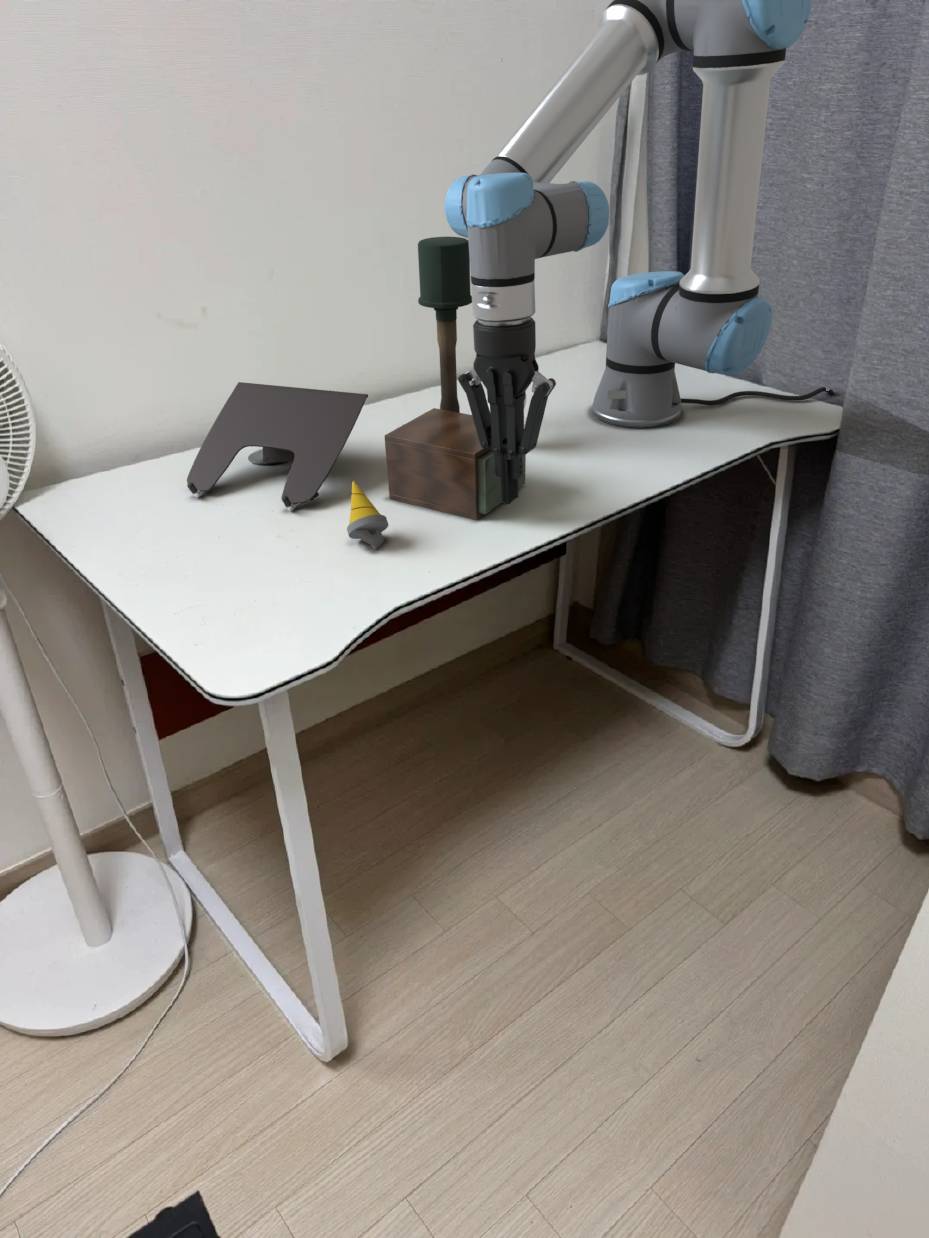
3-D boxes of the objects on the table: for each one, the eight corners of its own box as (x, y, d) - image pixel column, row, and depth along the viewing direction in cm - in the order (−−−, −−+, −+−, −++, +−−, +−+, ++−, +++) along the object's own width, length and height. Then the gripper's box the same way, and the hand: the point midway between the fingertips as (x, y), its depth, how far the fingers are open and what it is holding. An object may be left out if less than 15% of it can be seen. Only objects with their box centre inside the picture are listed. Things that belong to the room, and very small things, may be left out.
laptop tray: (194, 522, 132) (166, 483, 125) (255, 413, 143) (232, 371, 135) (327, 542, 125) (306, 503, 118) (380, 427, 136) (364, 383, 128)
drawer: (532, 485, 124) (533, 434, 120) (493, 516, 116) (493, 462, 112) (447, 467, 131) (445, 417, 126) (404, 494, 123) (400, 443, 118)
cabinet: (520, 486, 126) (520, 423, 121) (476, 520, 117) (474, 454, 112) (436, 468, 133) (433, 407, 127) (389, 499, 124) (384, 435, 119)
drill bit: (346, 558, 110) (325, 488, 112) (375, 559, 114) (354, 491, 116) (374, 540, 107) (352, 469, 109) (403, 542, 111) (380, 473, 113)
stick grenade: (477, 421, 150) (473, 235, 133) (473, 439, 142) (468, 245, 126) (429, 421, 150) (419, 236, 134) (422, 439, 143) (411, 246, 127)
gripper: (443, 322, 103) (455, 502, 116) (537, 329, 97) (539, 518, 110) (474, 308, 109) (483, 482, 121) (565, 314, 103) (564, 496, 115)
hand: (510, 499), depth 115 cm, fingers closed
